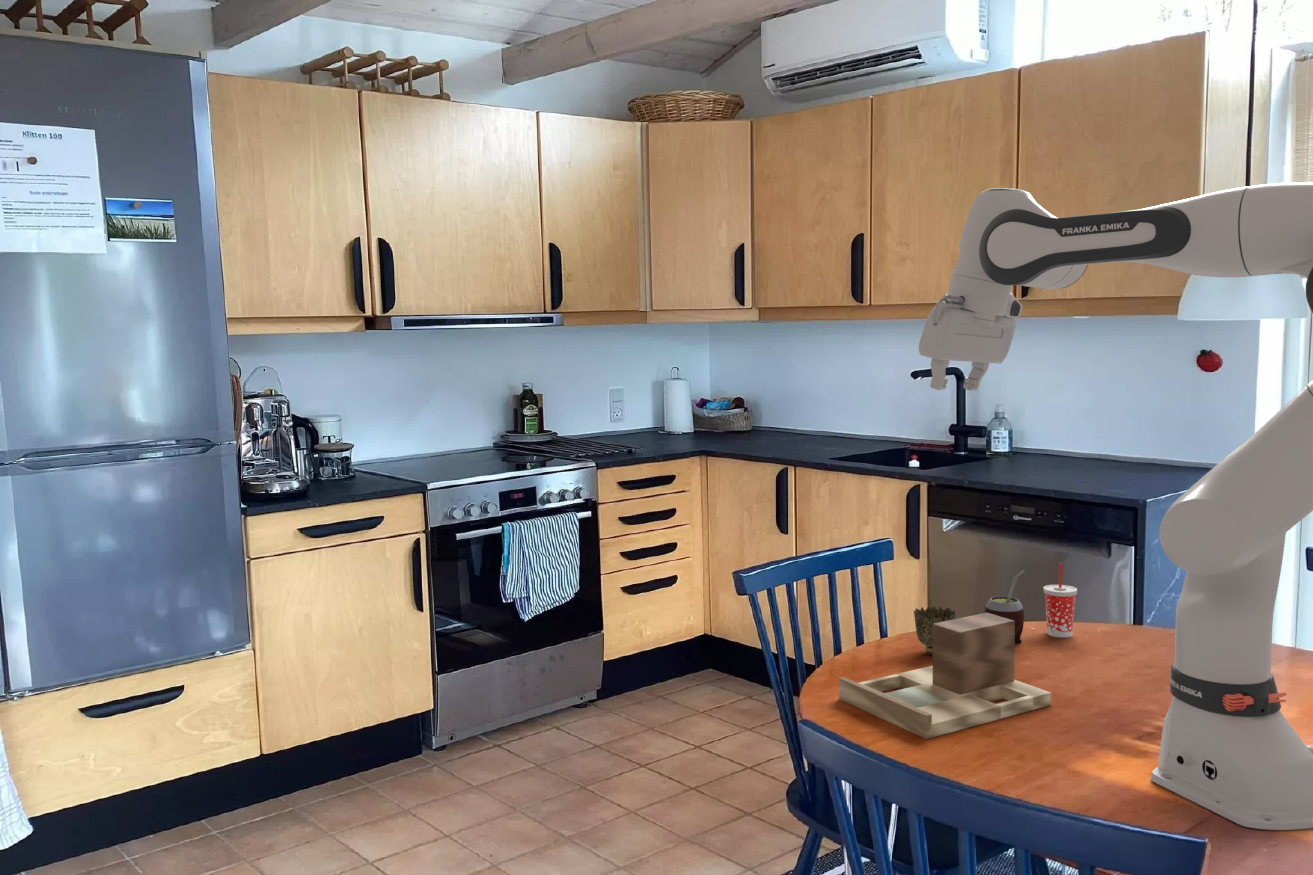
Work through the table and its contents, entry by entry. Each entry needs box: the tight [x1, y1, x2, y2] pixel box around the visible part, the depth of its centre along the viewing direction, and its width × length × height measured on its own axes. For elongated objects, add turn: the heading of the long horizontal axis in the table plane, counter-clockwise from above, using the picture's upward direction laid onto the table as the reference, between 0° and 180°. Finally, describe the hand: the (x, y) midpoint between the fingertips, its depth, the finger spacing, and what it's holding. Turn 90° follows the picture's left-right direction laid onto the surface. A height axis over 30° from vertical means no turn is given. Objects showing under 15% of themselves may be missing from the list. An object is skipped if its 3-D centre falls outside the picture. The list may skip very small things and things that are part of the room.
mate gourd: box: [984, 568, 1027, 644], centre depth 200 cm, size 8×8×15 cm
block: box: [932, 612, 1016, 695], centre depth 172 cm, size 12×6×10 cm, turn 119°
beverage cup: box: [1043, 562, 1078, 639], centre depth 204 cm, size 6×6×14 cm
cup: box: [913, 605, 957, 656], centre depth 194 cm, size 8×7×8 cm
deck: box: [838, 665, 1052, 740], centre depth 169 cm, size 26×20×4 cm
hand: (953, 389), depth 160 cm, fingers open, 8 cm apart
